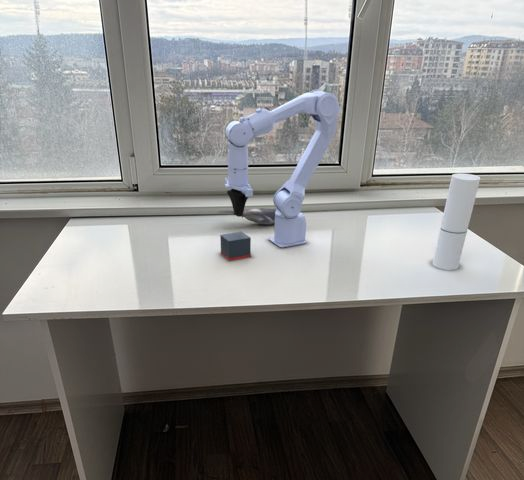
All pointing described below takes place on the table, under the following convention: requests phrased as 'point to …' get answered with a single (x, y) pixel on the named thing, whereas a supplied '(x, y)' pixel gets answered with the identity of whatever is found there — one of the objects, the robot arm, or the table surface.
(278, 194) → the robot arm
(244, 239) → the two-tone lidded box
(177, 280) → the table surface
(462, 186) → the cylindrical container
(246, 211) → the decorative bird
